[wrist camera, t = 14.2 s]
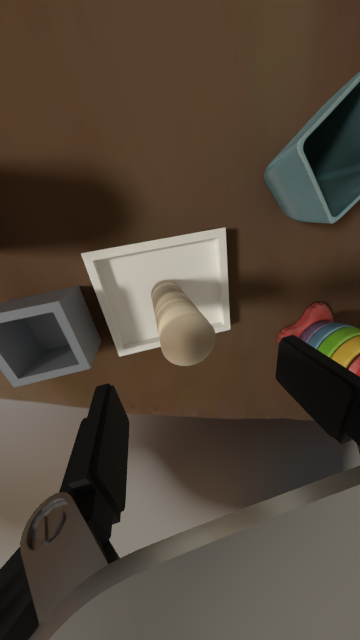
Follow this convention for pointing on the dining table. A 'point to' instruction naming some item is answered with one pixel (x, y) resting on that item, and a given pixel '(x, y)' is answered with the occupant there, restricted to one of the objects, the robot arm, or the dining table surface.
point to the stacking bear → (327, 336)
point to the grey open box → (46, 336)
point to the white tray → (151, 267)
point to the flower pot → (321, 162)
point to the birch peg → (181, 325)
